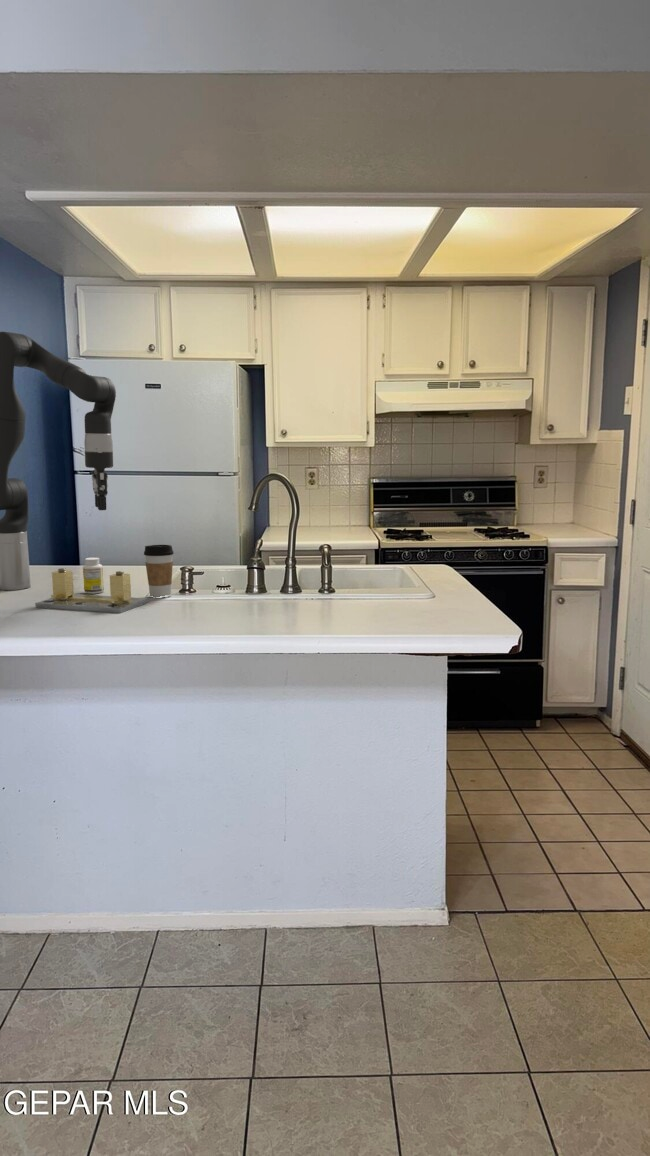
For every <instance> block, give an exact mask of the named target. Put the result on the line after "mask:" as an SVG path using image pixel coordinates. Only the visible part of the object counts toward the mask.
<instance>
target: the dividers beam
mask: <svg viewBox="0 0 650 1156" xmlns="http://www.w3.org/2000/svg"><path fill="white" fill-rule="evenodd" d="M124 572H125V571H123V570H122V571H121V570H119V571H117V570H116V571H115V573H114V574H110V575H109V587H110V588H109V591H110V596H111V598H110V599H102V598H86V597H70V596H67V597H68V599H66V600H78V601H94V602H110V603H111V605H115V603H126V604H130V603H133V600H127V599H130V598H131V597H132V591H131V590H132V589H131V587H132V585H131V573H124ZM63 600H65V599H63Z"/></svg>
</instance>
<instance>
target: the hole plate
mask: <svg viewBox="0 0 650 1156" xmlns="http://www.w3.org/2000/svg"><path fill="white" fill-rule="evenodd" d="M74 597H86V598H102V599H110V598H111V595H96V594H81V593H74ZM148 599H149V598H147V597H133V596H131V598H130V599H127V600H133V603H130V604H126V603H115V605H111V603H110V602H94V601H78V600H63V599H56V600H55V601H53V598H51V597H50V598H47V599H44V600H41V601H37V602H35V603H34V606H35V608H37V609H39V608H40V609H55V610H69V611H70V610H71V611H81V612H82V611H84V612H98V613H100V612H101V613H114V614H122V613H124V612H127V611H129V610H133V609H135V608H138V607H140V606H142V605H145V604H149V600H148Z"/></svg>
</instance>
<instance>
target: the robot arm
mask: <svg viewBox="0 0 650 1156" xmlns="http://www.w3.org/2000/svg"><path fill="white" fill-rule="evenodd" d="M15 367H17V368H18V367H19V368H23V367H24V368H25V367H26V368H30V369H32V370H33V369H35V370H37V371H40V372H42V373H43V374H44V375H45V376H46V377H47V378H48V379H49V380H50V381H51V382H52V383H54V384H56V385H58V386H60V387H62V388H64V389H66V390H68V391H70V392H71V393H72V394H73V395H75V396H76V397H77V398H79V399H81V400H82V401H85V402H87V403H94V404H93V409H92V410H91V411H88V412H86V413H85V414H84V443H83V444H84V466H85V467H86V468H90V469H93V470H92V474H91V481H92V489H93V493H94V506H95V507H96V508H97V510H98V511H106V510H107V496H108V493H109V492H108V486H109V485H108V479H109V478H108V474H107V472H106V470H105V469H111V468H113V467H114V453H113V452H114V450H113V449H114V448H113V447H114V445H113V438H112V437H113V436H112V416H113V411H114V408H115V402H116V398H117V395H116V394H117V392H116V386H115V384H114V382H113V381H112V379H110V378H109V377H105V376H97V375H91V374H88V373H87V372H86V370H84V369H83V368H81V367H80V366H78V365H76V364H74V363H72V362H70V361H68V360H65V359H63V358H61V357H59V356H57V355H56V354H54V353H52V352H50V351H49V350H47V349H46V348H44V347H43V346H42V345H41V344H39V343H37V342H36V341H35V340H33V338H31V337H30V336H28V335H25V334H22V333H16V332H10V331H0V511H5V513H4V515H3V516H2V517H1V518H0V590H4V591H5V590H6V591H15V590H25V589H27V588H31V573H30V572H31V571H30V559H29V558H30V557H29V545H28V543H29V542H28V531H27V526H28V523H29V493H28V489H27V486H26V484H25V482H24V481H23V480H21V479H19V478H8V477H9V476H8V475H9V467H10V464H11V462H12V460H13V458H14V456H15V455H16V453H17V451H18V449H19V448H20V447H21V445H22V443H23V440H24V438H25V431H26V411H25V407H24V405H23V403H22V401H21V399H20V397H19V395H18V392H17V390H16V387H15V379H14V377H15V376H14V373H15V372H14V371H15Z"/></svg>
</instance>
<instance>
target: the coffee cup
mask: <svg viewBox="0 0 650 1156" xmlns="http://www.w3.org/2000/svg"><path fill="white" fill-rule="evenodd" d="M174 554H175V553H174V549H173V547H172V545H171V544H151V545H150V544H149V545H145V546H144V552H143V556H145V563H144V564H145V568H146V569H145V570H146V575H147V576H146V577H147V582H148V591H149V596H153V597H160V596H165V595H170V594H171V595H172V583H173V581H172V580H173V565H174V561H173V555H174Z"/></svg>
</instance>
